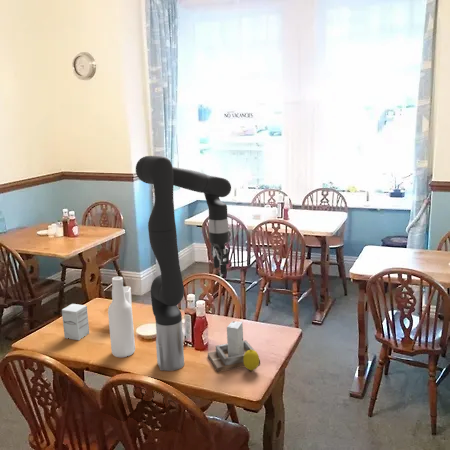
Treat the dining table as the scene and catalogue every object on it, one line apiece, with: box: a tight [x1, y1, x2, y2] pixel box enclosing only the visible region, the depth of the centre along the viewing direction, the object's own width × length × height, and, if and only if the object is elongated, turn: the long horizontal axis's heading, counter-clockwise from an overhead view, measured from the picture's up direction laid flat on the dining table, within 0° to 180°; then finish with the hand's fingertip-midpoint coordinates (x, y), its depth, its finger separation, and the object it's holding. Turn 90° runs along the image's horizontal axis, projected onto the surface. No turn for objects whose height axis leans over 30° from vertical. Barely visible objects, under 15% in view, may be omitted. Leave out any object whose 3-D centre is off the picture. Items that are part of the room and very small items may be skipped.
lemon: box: [243, 349, 260, 372], centre depth 180 cm, size 6×6×8 cm
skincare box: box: [226, 320, 244, 357], centre depth 188 cm, size 6×4×12 cm
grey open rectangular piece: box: [207, 340, 261, 373], centre depth 188 cm, size 16×12×4 cm
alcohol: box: [107, 276, 136, 358], centre depth 194 cm, size 9×9×30 cm
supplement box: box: [61, 303, 90, 341], centre depth 211 cm, size 7×7×13 cm
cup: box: [111, 285, 133, 309], centre depth 223 cm, size 7×7×15 cm
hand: (220, 270), depth 200 cm, fingers open, 8 cm apart
